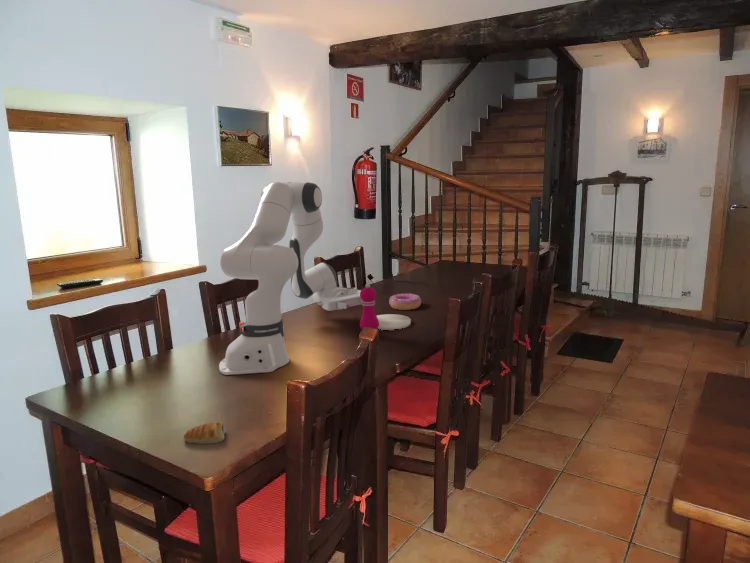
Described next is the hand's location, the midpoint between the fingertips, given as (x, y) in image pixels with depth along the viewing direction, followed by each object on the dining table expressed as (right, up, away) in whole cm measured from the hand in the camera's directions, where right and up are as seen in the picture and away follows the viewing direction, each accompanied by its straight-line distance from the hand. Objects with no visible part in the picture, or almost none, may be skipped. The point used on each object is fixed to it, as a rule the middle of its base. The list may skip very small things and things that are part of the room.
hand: (357, 304), depth 204 cm
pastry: (-33, -29, -76) cm, 88 cm away
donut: (+20, -3, +37) cm, 42 cm away
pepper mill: (+5, -12, -3) cm, 13 cm away
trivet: (+12, -8, +11) cm, 18 cm away
